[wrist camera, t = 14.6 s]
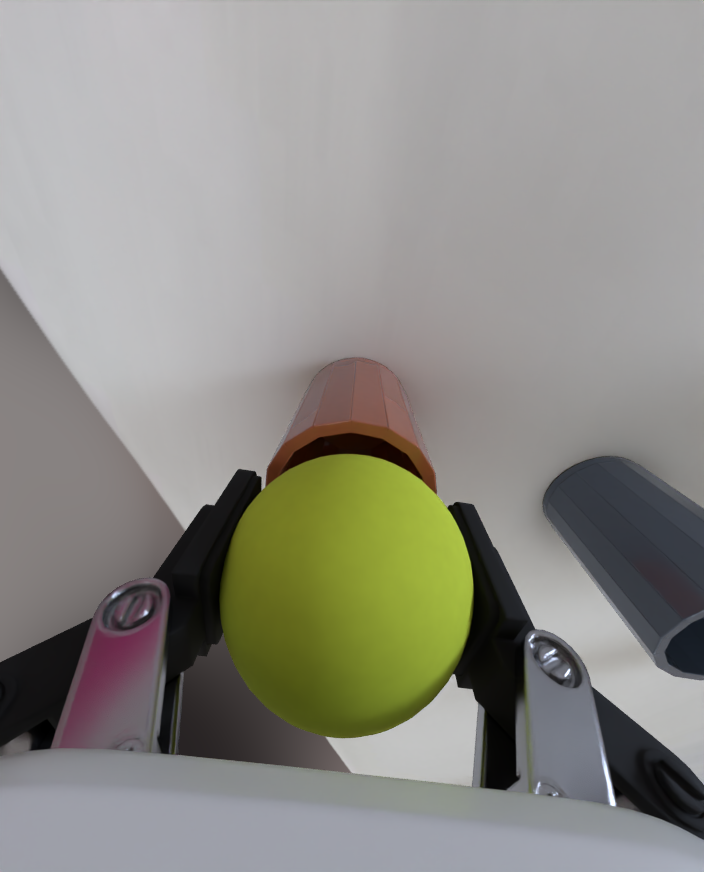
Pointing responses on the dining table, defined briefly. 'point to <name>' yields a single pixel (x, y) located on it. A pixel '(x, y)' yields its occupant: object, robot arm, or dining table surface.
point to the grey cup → (638, 554)
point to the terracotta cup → (354, 421)
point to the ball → (346, 596)
